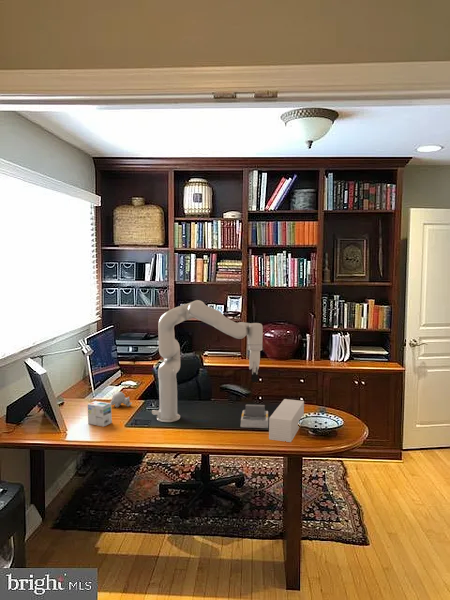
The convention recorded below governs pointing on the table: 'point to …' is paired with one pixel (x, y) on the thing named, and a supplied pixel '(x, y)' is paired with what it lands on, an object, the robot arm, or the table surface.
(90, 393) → the table surface
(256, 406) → the panel
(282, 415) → the grey rectangular block
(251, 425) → the rack
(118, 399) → the round bodied animal figurine
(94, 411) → the light bulb box
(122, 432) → the table surface
